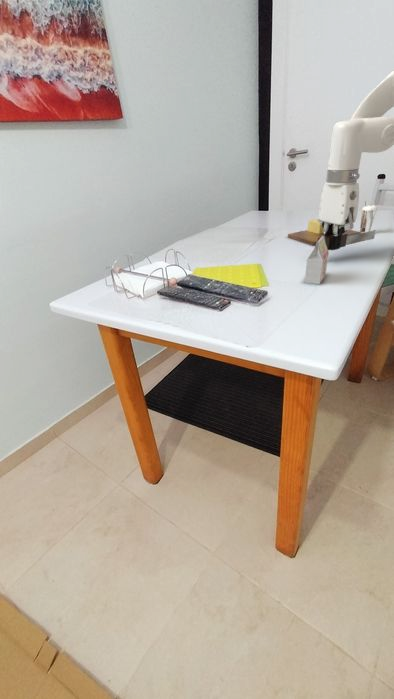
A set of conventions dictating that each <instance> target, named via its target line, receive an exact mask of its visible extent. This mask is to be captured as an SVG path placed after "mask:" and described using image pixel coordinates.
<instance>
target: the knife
mask: <svg viewBox="0 0 394 699" xmlns="http://www.w3.org/2000/svg"><path fill="white" fill-rule="evenodd" d="M375 235H376V229H373V230H370V231H369V232H364V233H360V234H355V235H351V236H347V234H346V233H344V235H342V238H341V244H340V248H345V247H346V246H348V245H353V244H357V243H361V242H365V241H371V240H374V239H375ZM332 236H334V234H333V235H329V236H324V239H325V243H326V246H327V249H328V251H331V250H330V244H331V237H332ZM320 238H321V237H319V238H318V241H319V240H320ZM318 241H317V242H318ZM340 248H339V249H340Z"/></svg>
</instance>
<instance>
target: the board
mask: <svg viewBox="0 0 394 699" xmlns="http://www.w3.org/2000/svg"><path fill="white" fill-rule="evenodd" d="M345 233H346V234H347V236H351V235H355V234H360V231H358V230H353V229H350V230H347V231H346V232H345ZM322 236H325V234H324V233H321V234H317V233H314V232H310V231H308V229H305V230H302V231H297V232H292V233H288V234H287V238H289V239H291V240H294V241H298V242H301V243H303V244H307V245H310V246H313V247H315V246H316V243H317V241H318V238H319V237H322Z"/></svg>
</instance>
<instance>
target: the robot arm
mask: <svg viewBox="0 0 394 699" xmlns="http://www.w3.org/2000/svg"><path fill="white" fill-rule="evenodd" d="M392 108H394V70H392V71H391V72H390V73H388V75H387V76H386V77H385V78H383V79H382V80H381V81H380V82H379V83H378V84H377V85H376V86H375V87H374V88H373V89H372V90H371V91H370V92H369V93H368V94H367V95H366V96H365V97H364V98H363V100H362V101H361V102H360V103H359V105H358V106H357V108H356V110H355V111H354V112H353V114H352V115H351V117H350V118H349V119H347V120H340V121H337V122H336V123H335V124H333V127H332V130H331V133H332V134H331V139H330V147H329V155H328V164H327V169H326V170H327V171H326V178H325V183H324V185H323V188H322V191H321V196H320V201H319V208H318V218H317V219H318V222H319V223H320V224H321V225H322V227H323V233H324V234H325V236H329V235H333V234H334V236H332V237H331V244H330V250H329V251H336V250H339V249H340V244H341V238H342V235H344V233H345V232H346V231H347V230H353V229H354V223H356V221H357V217H358V210H359V202H360V183H358V182H357V181H358V180H359V179H360V177H361V176H360V173H359V170H360V164H361V159H362V154H363V153H371V154H375V153H378V154H379V153H382V152H383V153H384V152H386V151H387V150H389V149H391V148H392V147H393V146H394V118H393V117H391V116H384V115H385V114H386V113H387V112H388V111H390V110H391V109H392ZM334 225H335V227H334ZM340 226H341V228H340V229H339V227H340ZM333 231H334V232H333Z"/></svg>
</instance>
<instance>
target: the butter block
mask: <svg viewBox="0 0 394 699" xmlns="http://www.w3.org/2000/svg"><path fill="white" fill-rule="evenodd" d="M318 219H319V218H317V219H312V220H308V223H307V230H308V231H310V232H314V233H317V234H321V233H323V227H322V225H321V224H320V223H319V222H318Z"/></svg>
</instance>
